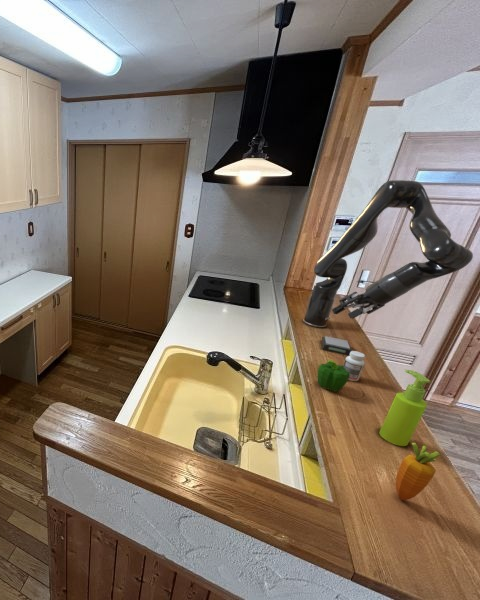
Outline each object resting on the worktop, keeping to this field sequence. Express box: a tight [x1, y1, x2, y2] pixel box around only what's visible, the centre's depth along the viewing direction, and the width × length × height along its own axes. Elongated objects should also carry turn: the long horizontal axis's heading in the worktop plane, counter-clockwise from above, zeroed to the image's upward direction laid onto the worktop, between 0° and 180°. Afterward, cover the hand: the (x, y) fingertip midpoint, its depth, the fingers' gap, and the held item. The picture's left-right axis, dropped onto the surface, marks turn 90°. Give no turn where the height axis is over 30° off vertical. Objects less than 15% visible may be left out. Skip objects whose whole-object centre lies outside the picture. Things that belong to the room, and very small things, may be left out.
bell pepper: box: [316, 359, 350, 392], centre depth 109 cm, size 8×8×10 cm
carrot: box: [395, 442, 441, 501], centre depth 69 cm, size 5×5×15 cm
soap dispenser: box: [379, 369, 431, 447], centre depth 86 cm, size 6×7×20 cm
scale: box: [320, 335, 352, 356], centre depth 136 cm, size 9×9×3 cm
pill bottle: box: [342, 350, 366, 382], centre depth 115 cm, size 5×5×10 cm
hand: (341, 314), depth 119 cm, fingers open, 8 cm apart
